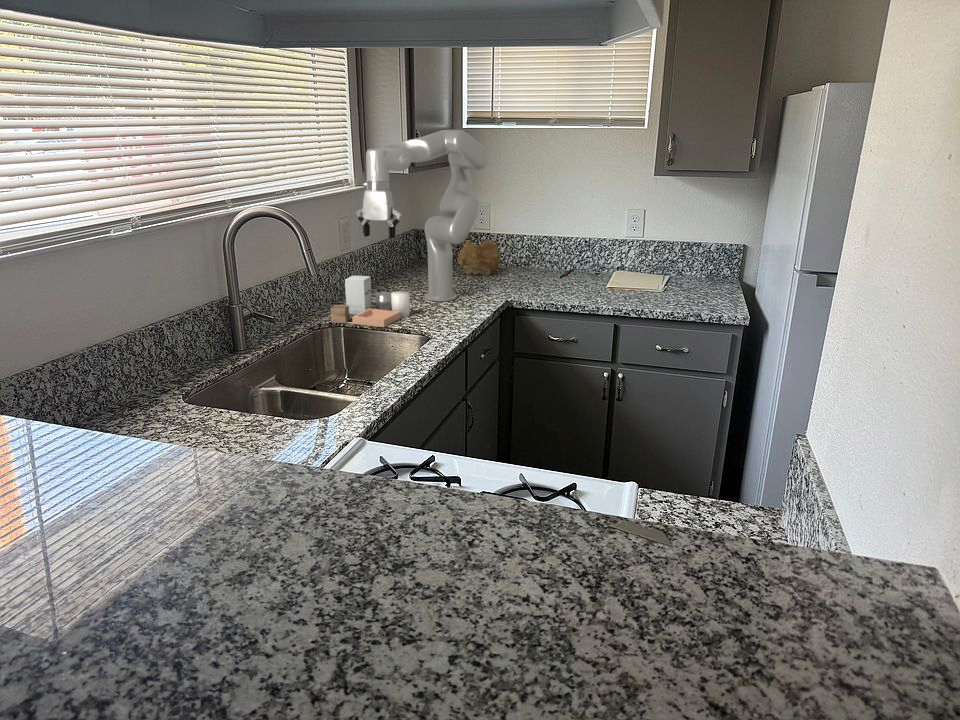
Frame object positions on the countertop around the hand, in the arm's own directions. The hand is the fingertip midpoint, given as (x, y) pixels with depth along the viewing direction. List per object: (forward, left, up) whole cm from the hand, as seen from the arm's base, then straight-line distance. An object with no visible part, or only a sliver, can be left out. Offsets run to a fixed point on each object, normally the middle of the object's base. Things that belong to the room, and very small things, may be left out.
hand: (379, 237), depth 242 cm
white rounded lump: (0, +8, -27) cm, 28 cm away
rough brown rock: (-79, +10, -28) cm, 84 cm away
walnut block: (+15, -8, -27) cm, 32 cm away
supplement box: (+2, -8, -28) cm, 29 cm away
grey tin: (-4, -1, -27) cm, 28 cm away
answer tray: (+11, +4, -27) cm, 30 cm away
